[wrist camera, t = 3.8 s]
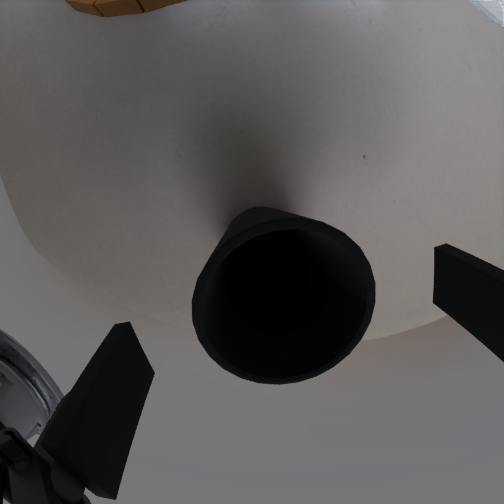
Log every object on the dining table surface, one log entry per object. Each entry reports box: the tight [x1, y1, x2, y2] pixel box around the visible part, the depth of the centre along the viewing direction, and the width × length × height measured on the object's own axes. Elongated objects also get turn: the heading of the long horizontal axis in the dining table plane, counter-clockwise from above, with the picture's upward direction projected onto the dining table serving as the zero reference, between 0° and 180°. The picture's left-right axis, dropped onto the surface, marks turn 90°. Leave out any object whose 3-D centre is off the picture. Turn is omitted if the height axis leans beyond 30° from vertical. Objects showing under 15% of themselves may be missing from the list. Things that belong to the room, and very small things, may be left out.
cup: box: [192, 207, 375, 385], centre depth 17 cm, size 8×8×12 cm
